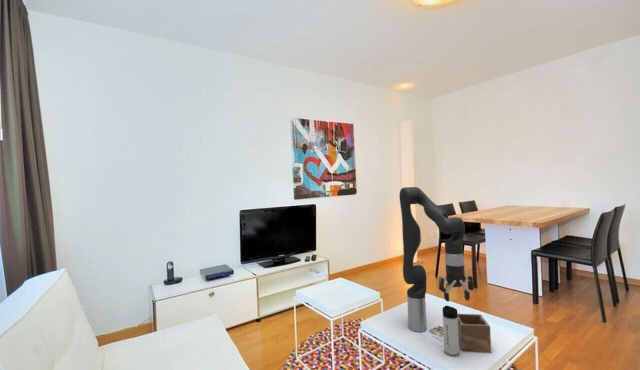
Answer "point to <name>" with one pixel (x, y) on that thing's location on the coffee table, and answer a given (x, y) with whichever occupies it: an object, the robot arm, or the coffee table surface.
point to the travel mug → (450, 331)
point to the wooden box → (474, 333)
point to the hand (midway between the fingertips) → (457, 300)
